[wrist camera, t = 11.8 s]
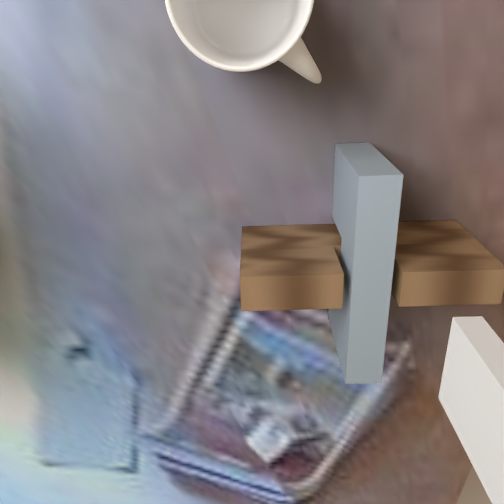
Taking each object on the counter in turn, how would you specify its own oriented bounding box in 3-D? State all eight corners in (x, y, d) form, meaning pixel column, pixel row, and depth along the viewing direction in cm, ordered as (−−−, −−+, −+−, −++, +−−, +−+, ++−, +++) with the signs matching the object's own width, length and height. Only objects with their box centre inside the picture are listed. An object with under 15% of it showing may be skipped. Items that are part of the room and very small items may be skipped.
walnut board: (243, 255, 45) (241, 311, 36) (242, 226, 44) (239, 277, 35) (450, 249, 45) (500, 303, 36) (455, 219, 44) (508, 269, 35)
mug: (272, 114, 40) (278, 141, 30) (164, 1, 36) (131, -9, 27) (350, 35, 37) (384, 36, 28) (241, -95, 34) (237, -146, 24)
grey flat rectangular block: (328, 318, 49) (345, 383, 39) (335, 143, 41) (359, 176, 32) (357, 317, 48) (381, 382, 39) (369, 142, 41) (403, 174, 32)
